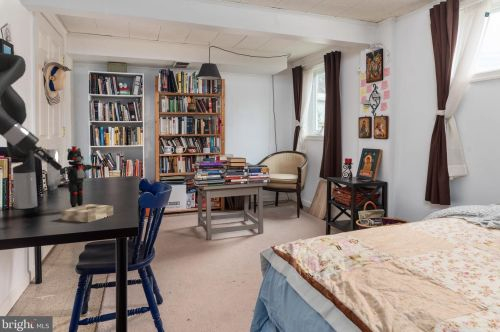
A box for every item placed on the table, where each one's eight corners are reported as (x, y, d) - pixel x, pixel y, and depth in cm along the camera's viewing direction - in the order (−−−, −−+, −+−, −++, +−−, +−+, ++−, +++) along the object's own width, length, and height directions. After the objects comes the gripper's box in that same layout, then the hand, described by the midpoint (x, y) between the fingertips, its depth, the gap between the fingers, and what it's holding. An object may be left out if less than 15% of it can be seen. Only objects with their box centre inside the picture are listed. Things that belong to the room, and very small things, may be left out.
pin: (45, 185, 135) (43, 149, 133) (55, 183, 139) (53, 149, 138) (53, 185, 133) (51, 149, 132) (63, 184, 137) (61, 149, 136)
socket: (61, 219, 141) (61, 210, 141) (88, 212, 154) (87, 204, 154) (88, 222, 136) (87, 212, 136) (113, 214, 149) (112, 205, 149)
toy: (61, 219, 142) (57, 147, 139) (45, 218, 143) (41, 147, 141) (105, 205, 171) (103, 145, 169) (92, 204, 173) (89, 145, 170)
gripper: (30, 130, 124) (69, 162, 132) (27, 131, 135) (63, 160, 144) (13, 145, 121) (54, 176, 130) (12, 144, 133) (49, 173, 141)
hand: (59, 168), depth 137 cm, fingers closed on pin, 4 cm apart
